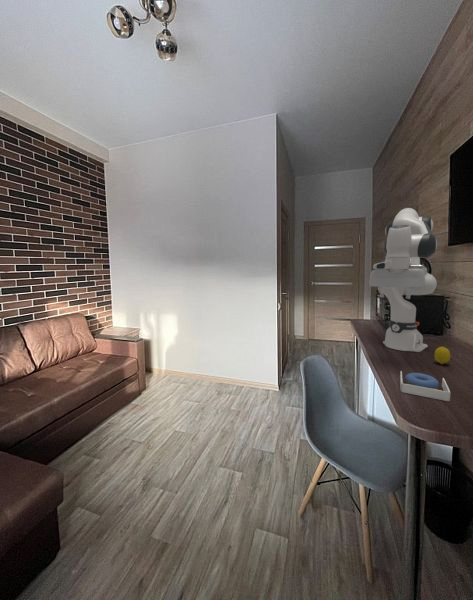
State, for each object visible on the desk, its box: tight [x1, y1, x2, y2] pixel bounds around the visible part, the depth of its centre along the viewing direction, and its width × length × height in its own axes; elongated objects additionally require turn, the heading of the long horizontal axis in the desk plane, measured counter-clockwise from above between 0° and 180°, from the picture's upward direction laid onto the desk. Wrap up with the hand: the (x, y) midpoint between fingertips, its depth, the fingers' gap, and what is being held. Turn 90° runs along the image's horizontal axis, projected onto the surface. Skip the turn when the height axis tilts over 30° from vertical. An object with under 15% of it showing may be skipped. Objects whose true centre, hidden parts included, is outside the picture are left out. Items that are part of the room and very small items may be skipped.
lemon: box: [433, 346, 451, 365], centre depth 117 cm, size 6×6×8 cm
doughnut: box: [404, 372, 440, 390], centre depth 95 cm, size 10×10×5 cm
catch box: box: [399, 370, 451, 403], centre depth 93 cm, size 13×13×3 cm
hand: (394, 298), depth 113 cm, fingers open, 8 cm apart
